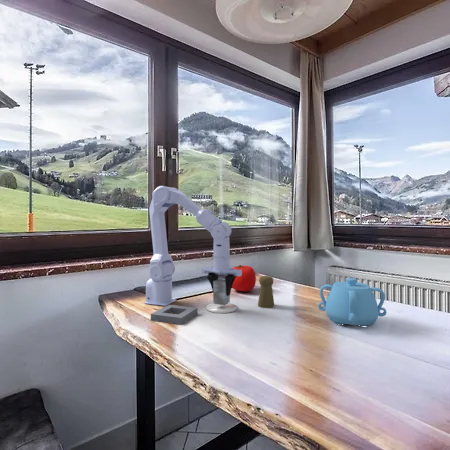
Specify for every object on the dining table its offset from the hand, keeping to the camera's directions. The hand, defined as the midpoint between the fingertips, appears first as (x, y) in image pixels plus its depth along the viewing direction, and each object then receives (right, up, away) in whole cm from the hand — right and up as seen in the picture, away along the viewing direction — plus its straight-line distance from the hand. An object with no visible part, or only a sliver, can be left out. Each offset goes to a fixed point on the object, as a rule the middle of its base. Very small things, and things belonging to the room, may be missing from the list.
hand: (221, 294), depth 114 cm
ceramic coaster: (0, -5, 0) cm, 5 cm away
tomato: (+9, -4, +26) cm, 28 cm away
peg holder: (-15, -5, -9) cm, 18 cm away
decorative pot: (+41, -6, -14) cm, 43 cm away
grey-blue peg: (0, -3, 0) cm, 3 cm away
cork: (+16, -5, +3) cm, 17 cm away
